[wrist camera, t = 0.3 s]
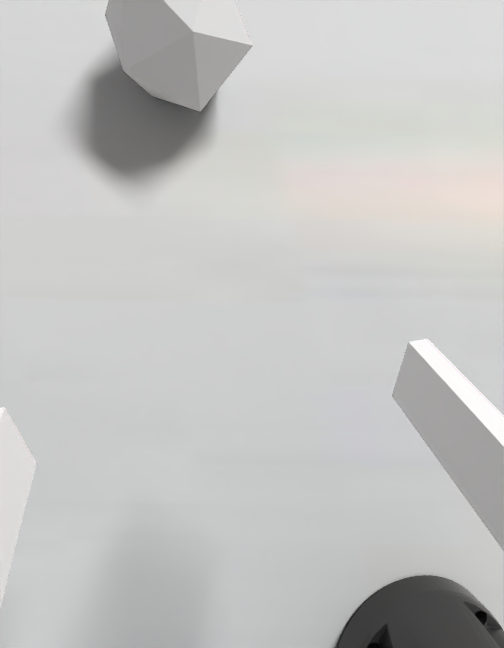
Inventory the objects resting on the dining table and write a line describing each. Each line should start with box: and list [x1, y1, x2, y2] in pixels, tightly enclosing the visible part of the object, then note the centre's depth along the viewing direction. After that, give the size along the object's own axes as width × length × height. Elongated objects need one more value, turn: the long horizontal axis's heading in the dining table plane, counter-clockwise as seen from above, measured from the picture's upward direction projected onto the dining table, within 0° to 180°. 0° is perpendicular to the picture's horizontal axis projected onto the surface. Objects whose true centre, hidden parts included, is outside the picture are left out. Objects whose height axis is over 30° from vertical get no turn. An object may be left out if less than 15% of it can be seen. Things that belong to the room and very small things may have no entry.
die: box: [105, 0, 253, 112], centre depth 25 cm, size 8×9×10 cm
